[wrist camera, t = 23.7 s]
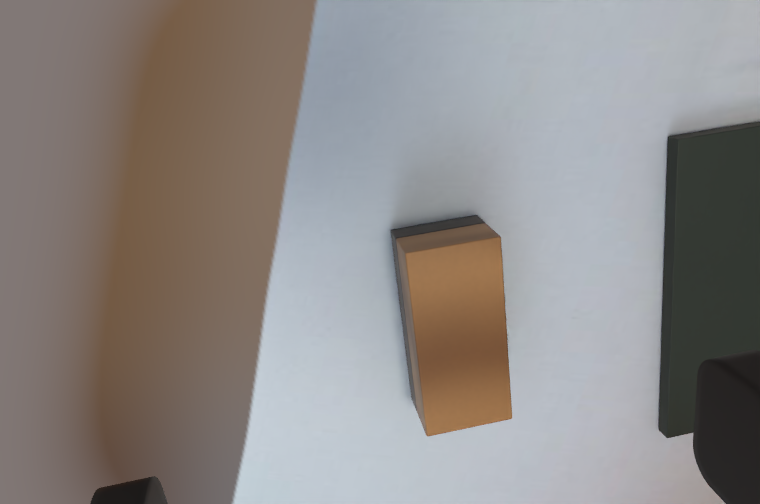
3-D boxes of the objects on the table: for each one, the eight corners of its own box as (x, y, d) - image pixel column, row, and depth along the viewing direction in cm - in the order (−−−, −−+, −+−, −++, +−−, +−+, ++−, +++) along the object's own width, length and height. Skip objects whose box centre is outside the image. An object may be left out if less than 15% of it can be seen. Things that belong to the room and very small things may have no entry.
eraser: (390, 229, 36) (404, 253, 32) (477, 214, 37) (501, 236, 33) (411, 398, 40) (426, 437, 36) (489, 382, 40) (512, 419, 37)
